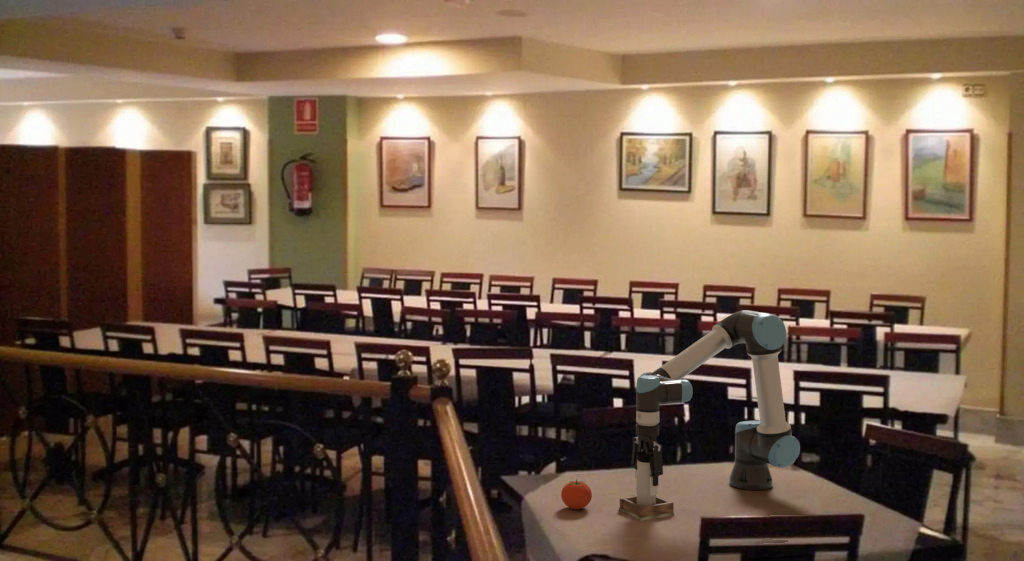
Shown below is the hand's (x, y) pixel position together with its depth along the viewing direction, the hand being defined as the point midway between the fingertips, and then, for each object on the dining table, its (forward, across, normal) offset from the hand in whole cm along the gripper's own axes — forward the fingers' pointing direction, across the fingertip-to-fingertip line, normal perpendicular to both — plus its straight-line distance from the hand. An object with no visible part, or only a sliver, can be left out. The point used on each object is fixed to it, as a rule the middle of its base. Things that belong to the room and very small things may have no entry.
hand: (646, 492), depth 343 cm
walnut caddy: (+7, 0, 0) cm, 7 cm away
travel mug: (+6, 0, 0) cm, 6 cm away
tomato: (+7, -14, -18) cm, 24 cm away
